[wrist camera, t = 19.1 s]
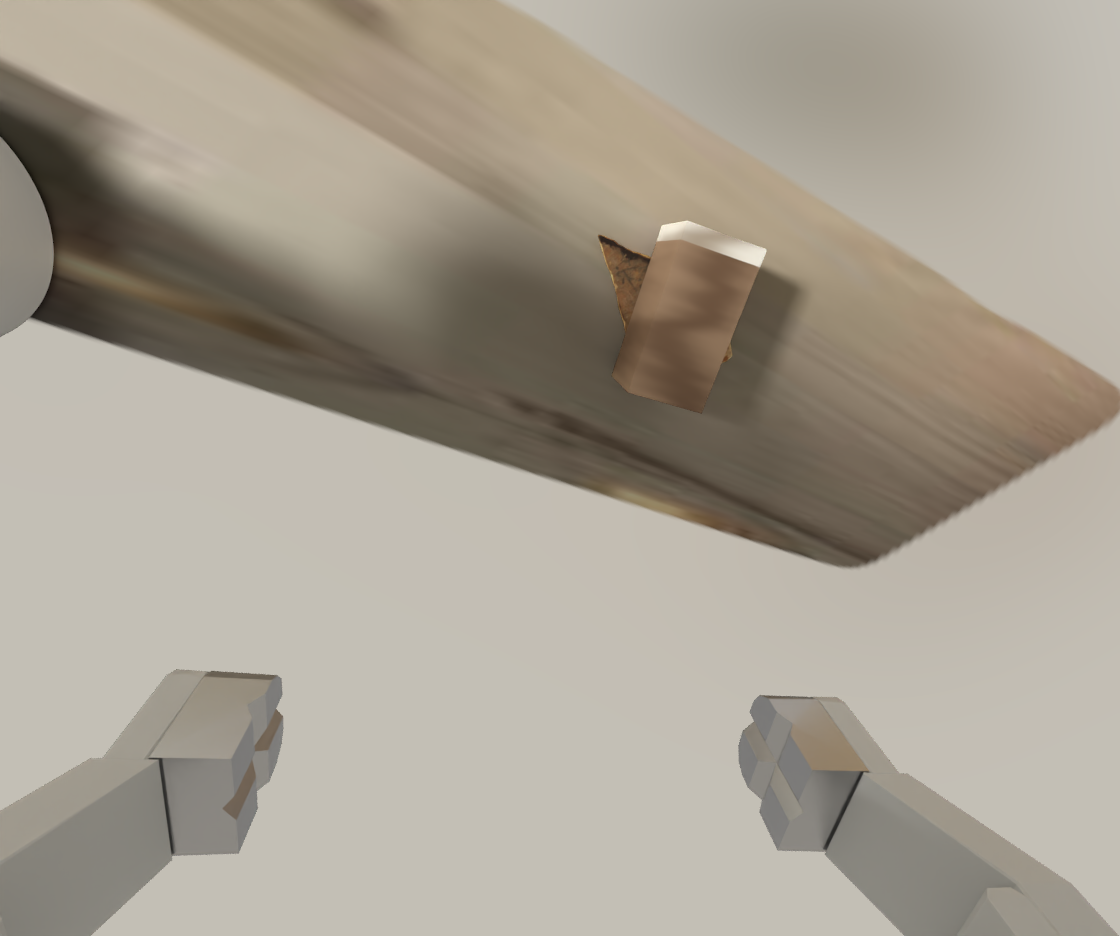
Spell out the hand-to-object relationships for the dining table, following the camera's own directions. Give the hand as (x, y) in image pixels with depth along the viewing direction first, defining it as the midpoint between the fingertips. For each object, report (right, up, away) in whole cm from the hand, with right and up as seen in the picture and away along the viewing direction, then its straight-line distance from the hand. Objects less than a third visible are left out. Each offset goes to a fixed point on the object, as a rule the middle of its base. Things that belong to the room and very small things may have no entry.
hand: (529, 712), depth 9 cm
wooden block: (+7, +9, +27) cm, 29 cm away
